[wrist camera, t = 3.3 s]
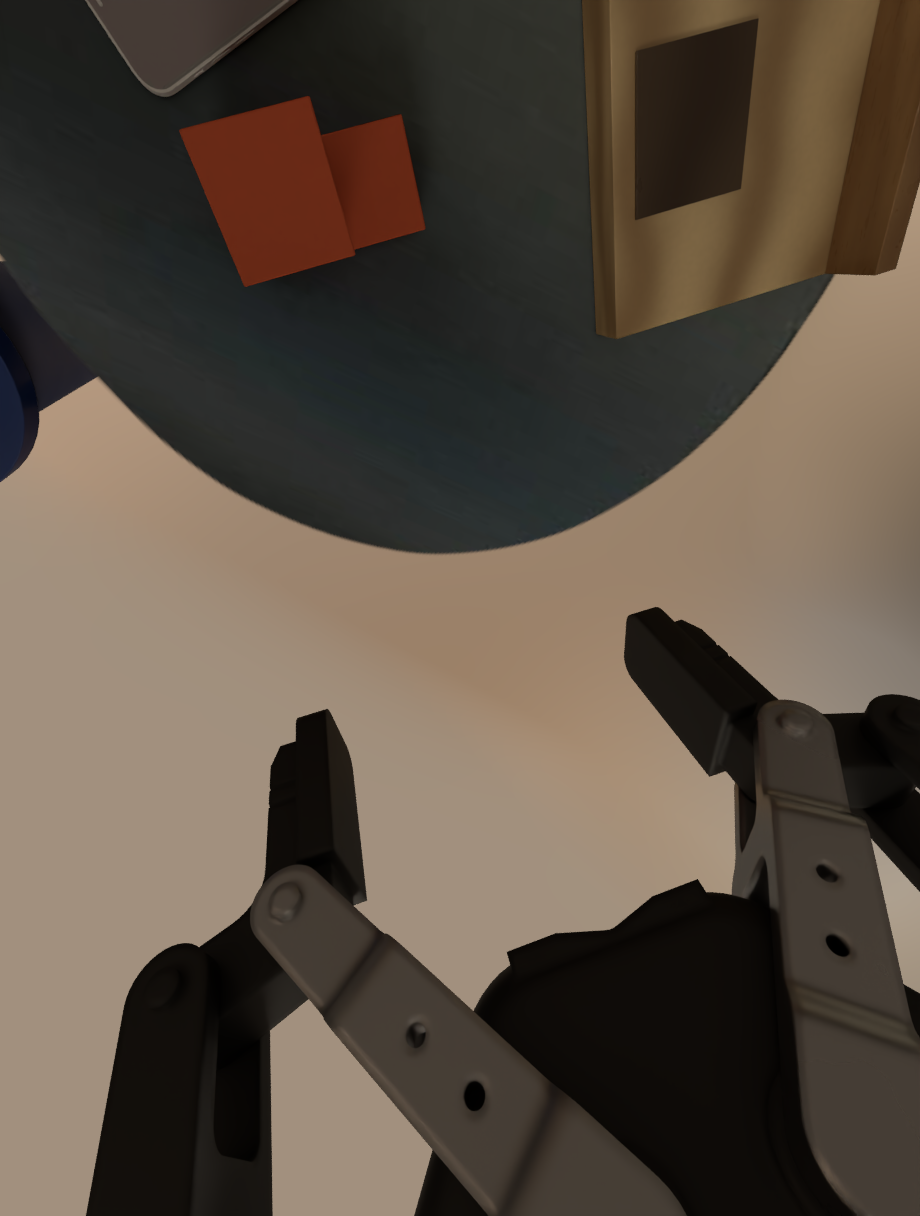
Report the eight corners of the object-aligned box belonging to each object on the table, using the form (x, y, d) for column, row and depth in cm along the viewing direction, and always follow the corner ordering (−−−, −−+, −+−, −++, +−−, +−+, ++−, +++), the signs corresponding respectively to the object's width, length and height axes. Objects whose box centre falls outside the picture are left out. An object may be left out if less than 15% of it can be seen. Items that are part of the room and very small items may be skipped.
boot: (259, 278, 30) (244, 287, 21) (217, 170, 27) (178, 129, 18) (416, 233, 31) (463, 224, 22) (392, 123, 27) (435, 61, 19)
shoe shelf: (595, 334, 37) (648, 347, 31) (576, -109, 24) (657, -215, 19) (809, 267, 38) (896, 268, 33) (893, -185, 26) (1055, -304, 20)
